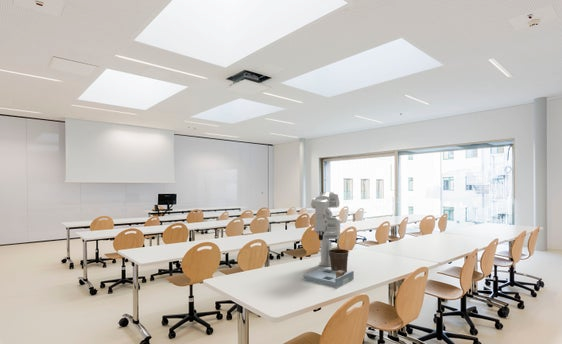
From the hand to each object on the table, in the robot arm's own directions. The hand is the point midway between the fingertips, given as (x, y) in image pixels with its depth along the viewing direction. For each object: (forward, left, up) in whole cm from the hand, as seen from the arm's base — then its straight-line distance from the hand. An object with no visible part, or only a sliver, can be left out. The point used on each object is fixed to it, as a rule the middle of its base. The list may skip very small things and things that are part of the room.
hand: (320, 239), depth 240 cm
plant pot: (-13, +8, -26) cm, 31 cm away
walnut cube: (+9, +22, -23) cm, 33 cm away
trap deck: (+9, +12, -26) cm, 30 cm away
